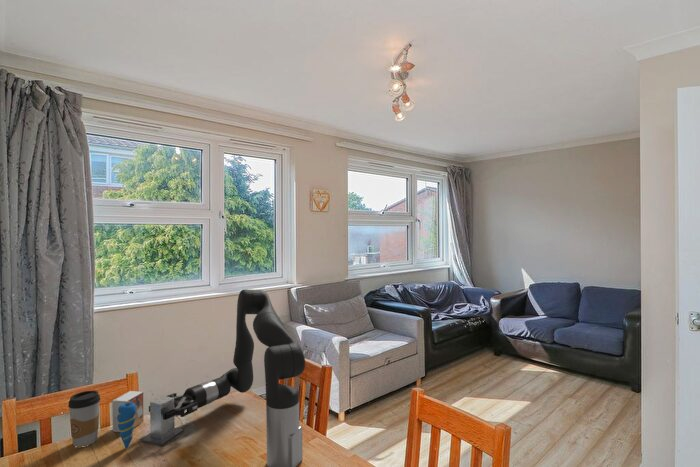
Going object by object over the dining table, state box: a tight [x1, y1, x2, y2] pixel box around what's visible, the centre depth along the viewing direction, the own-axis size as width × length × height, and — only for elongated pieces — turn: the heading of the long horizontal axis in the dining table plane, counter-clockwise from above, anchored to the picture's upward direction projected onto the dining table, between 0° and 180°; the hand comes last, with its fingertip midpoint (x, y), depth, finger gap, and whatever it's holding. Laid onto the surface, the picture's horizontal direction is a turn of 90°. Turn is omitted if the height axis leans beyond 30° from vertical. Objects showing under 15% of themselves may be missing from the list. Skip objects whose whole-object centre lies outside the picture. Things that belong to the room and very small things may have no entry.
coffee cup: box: [67, 390, 101, 447], centre depth 121 cm, size 8×8×15 cm
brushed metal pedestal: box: [149, 395, 176, 439], centre depth 125 cm, size 5×5×11 cm
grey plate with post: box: [139, 427, 185, 447], centre depth 125 cm, size 9×9×7 cm
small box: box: [111, 390, 145, 433], centre depth 131 cm, size 8×6×10 cm
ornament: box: [117, 399, 137, 449], centre depth 118 cm, size 5×5×15 cm
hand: (156, 413), depth 123 cm, fingers open, 8 cm apart
